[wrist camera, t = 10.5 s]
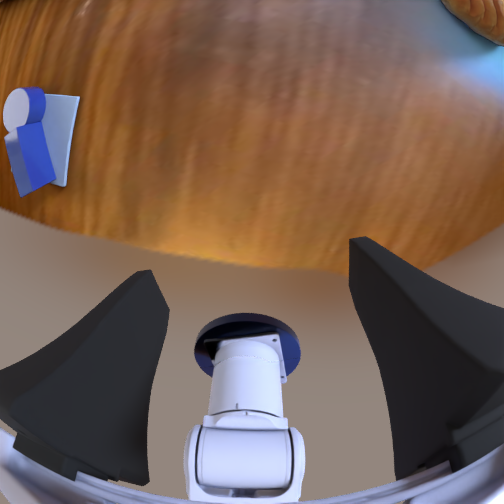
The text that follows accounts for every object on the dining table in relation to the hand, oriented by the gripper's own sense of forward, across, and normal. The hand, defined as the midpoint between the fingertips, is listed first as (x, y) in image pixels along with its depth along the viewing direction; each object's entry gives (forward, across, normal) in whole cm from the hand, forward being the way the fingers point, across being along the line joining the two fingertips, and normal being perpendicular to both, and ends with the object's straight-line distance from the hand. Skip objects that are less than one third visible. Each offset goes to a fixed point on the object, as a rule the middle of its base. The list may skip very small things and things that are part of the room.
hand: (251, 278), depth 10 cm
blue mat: (+10, +15, -9) cm, 20 cm away
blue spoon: (+9, +15, -9) cm, 20 cm away
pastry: (+10, -22, -15) cm, 28 cm away
